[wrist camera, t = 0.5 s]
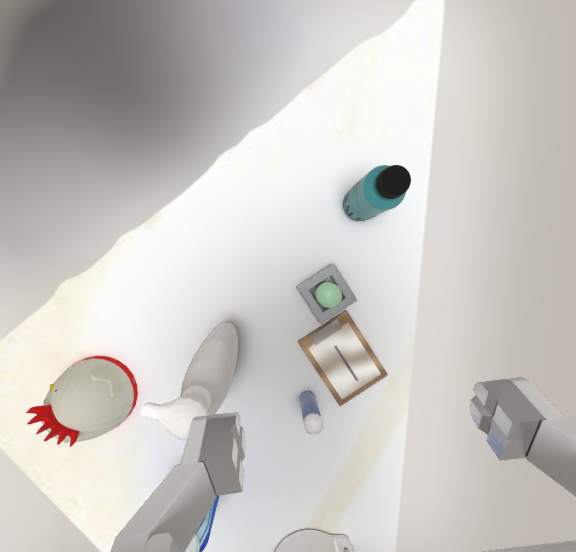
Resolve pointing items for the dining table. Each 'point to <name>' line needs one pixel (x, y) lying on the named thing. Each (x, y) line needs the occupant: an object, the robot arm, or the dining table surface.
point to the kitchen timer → (87, 400)
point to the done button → (328, 294)
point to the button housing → (316, 279)
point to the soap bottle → (200, 383)
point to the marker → (311, 413)
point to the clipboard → (342, 358)
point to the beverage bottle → (377, 192)
